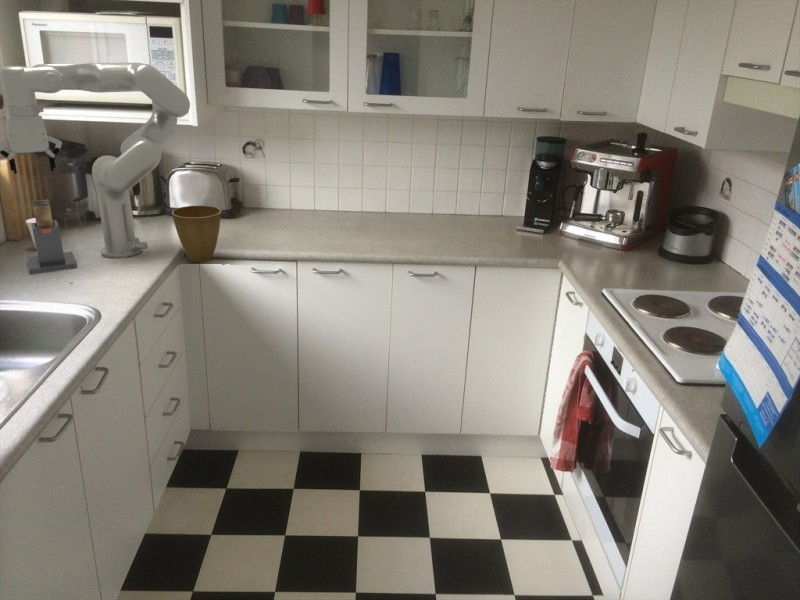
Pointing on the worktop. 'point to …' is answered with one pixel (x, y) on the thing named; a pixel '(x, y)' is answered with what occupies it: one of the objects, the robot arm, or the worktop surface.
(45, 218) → the column
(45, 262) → the stand
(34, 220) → the smoothie
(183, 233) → the plant pot
